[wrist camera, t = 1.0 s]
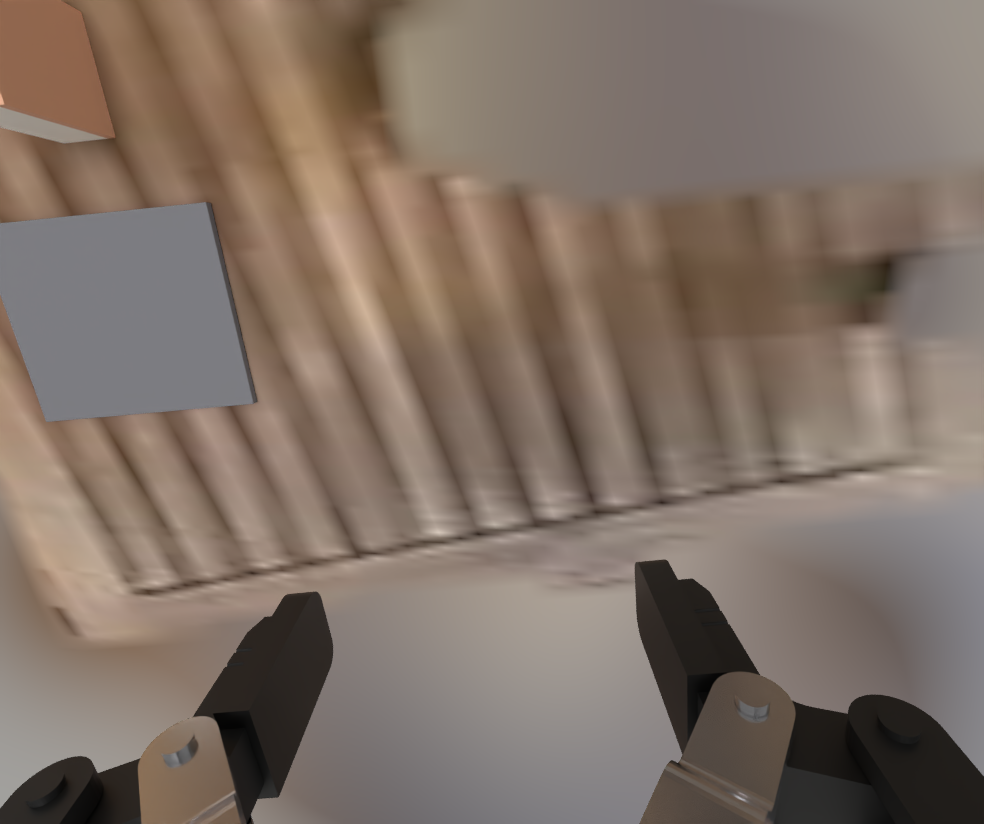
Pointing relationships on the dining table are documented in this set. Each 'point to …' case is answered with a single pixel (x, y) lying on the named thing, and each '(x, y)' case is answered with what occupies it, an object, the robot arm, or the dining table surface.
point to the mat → (124, 312)
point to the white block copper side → (49, 73)
